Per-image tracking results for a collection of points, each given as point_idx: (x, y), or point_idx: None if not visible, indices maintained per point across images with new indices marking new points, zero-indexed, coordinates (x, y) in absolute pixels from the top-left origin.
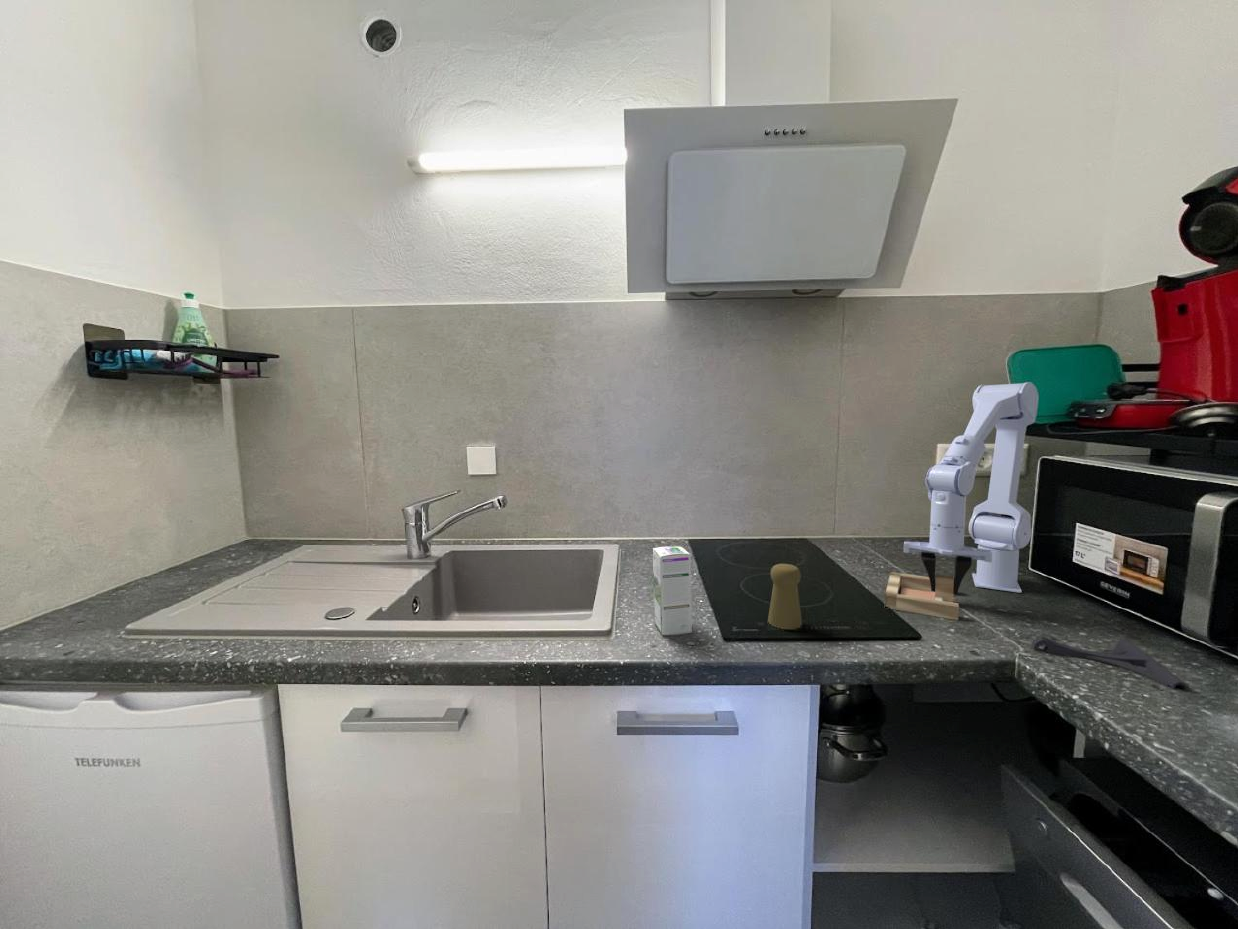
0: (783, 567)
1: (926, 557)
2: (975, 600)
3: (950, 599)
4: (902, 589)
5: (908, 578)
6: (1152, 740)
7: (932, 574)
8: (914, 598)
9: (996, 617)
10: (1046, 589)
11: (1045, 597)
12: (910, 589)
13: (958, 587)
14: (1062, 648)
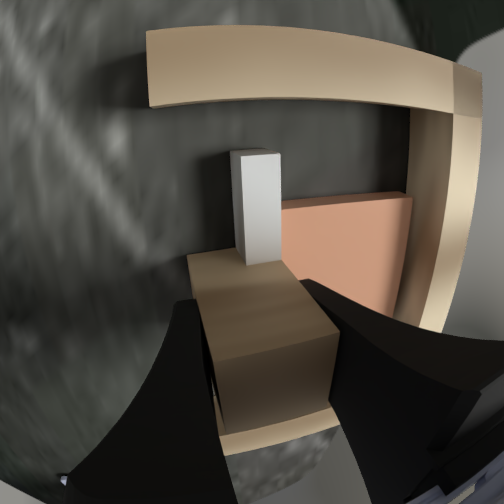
0: None
1: (490, 414)
2: (125, 387)
3: (204, 269)
4: (393, 296)
5: None
6: None
7: (373, 328)
8: (394, 69)
9: (8, 229)
10: (47, 499)
11: (19, 469)
12: None
13: (170, 325)
14: None
